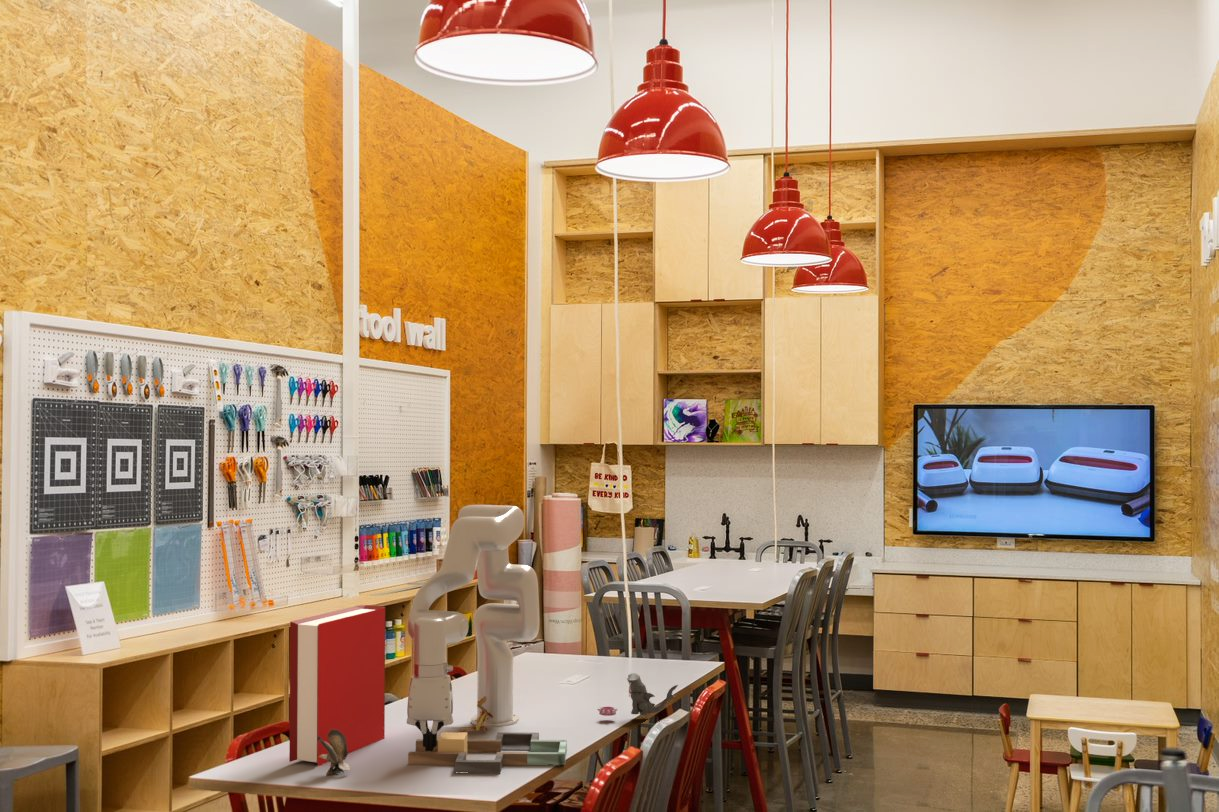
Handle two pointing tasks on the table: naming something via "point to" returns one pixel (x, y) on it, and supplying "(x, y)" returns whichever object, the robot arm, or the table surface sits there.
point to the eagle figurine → (335, 752)
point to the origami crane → (482, 717)
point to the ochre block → (452, 742)
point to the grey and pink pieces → (639, 698)
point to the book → (337, 680)
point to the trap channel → (538, 755)
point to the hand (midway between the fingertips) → (429, 749)
